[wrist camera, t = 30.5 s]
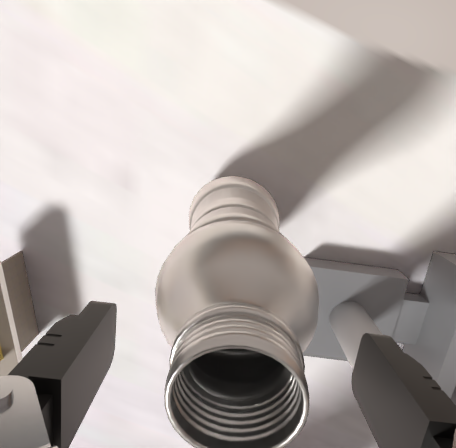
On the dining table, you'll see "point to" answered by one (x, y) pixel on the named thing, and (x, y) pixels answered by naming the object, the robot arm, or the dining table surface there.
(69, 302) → the dining table surface
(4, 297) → the platform
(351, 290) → the plug dock
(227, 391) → the plastic bottle
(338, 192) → the dining table surface
